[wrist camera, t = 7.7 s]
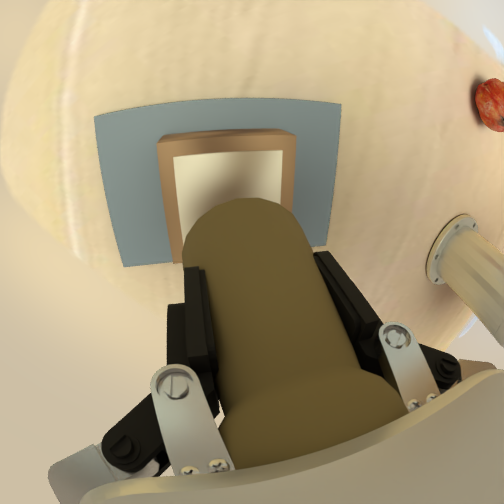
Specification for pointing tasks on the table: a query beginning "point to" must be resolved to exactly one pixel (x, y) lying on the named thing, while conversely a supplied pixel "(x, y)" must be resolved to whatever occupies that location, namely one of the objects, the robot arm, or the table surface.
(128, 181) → the board
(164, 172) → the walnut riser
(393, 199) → the table surface
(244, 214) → the cork
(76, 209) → the table surface
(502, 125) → the pomegranate
